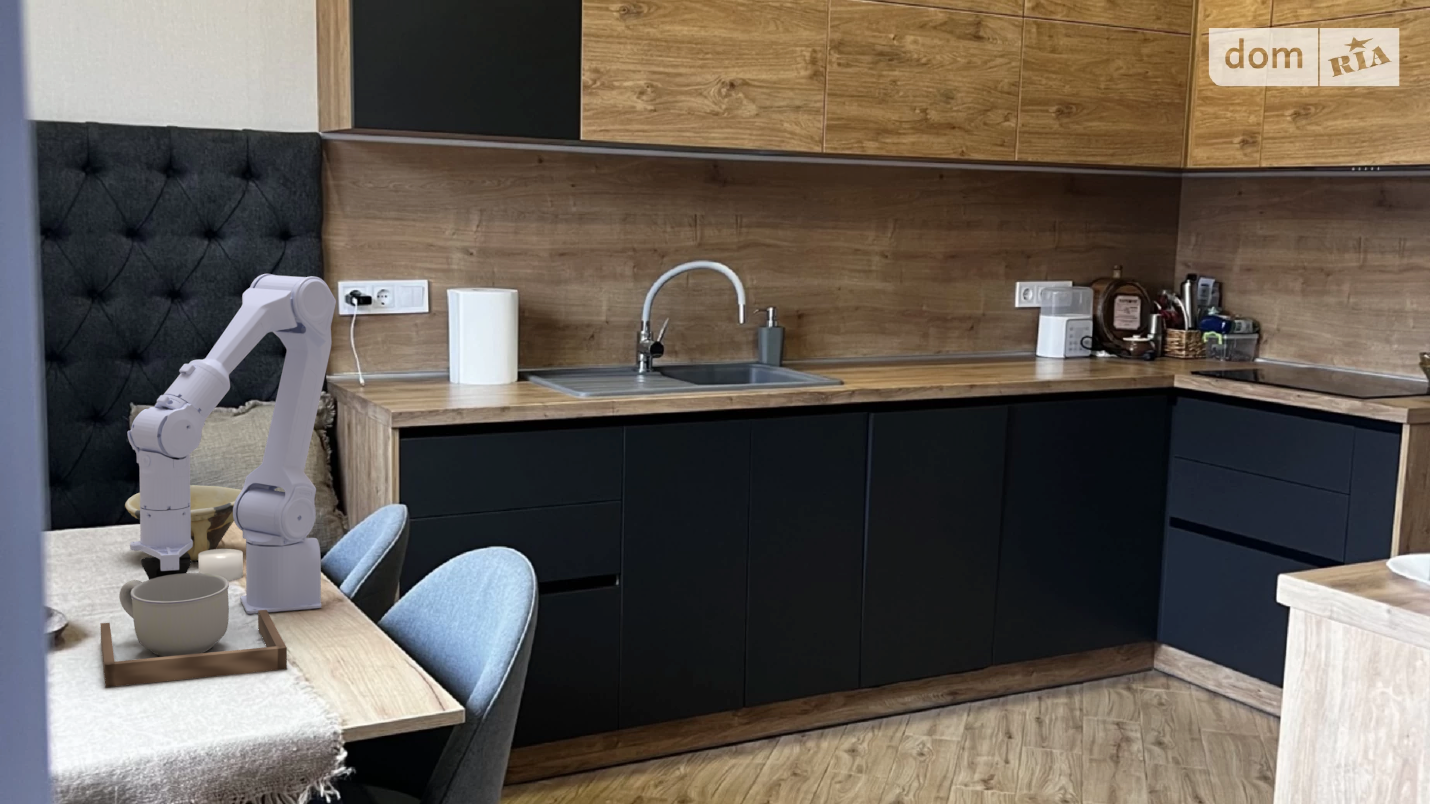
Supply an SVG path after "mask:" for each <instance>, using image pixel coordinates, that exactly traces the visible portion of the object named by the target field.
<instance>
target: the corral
mask: <svg viewBox="0 0 1430 804" xmlns="http://www.w3.org/2000/svg"><path fill="white" fill-rule="evenodd" d="M257 620H258V621H257V624H258V625H257V630H258V629H259V630H258V633H259V634H260V636H261V635H262V637H263V639H262V640H264V641H263V643H264V642H265V643H264V645H265V644H266V645H265V647H255V648H244V649H235V650H221V651H212V652H203V653H200V654H189V655H178V656H168V657H164V656H159V657H148V658H139V659H138V658H136V659H129V660H117V661H116V660H115V655H114V649H113V648H114V646H113V638H112V631H111V630H112V629H111V625H110V622H101V623H100V648H101V661H102V668H103V669H102V670H103V679H104V687H105V688H113V687H114V688H115V687H122V686H123V687H124V686H130V685H131V686H133V685H134V686H135V685H142V684H143V685H144V684H151V683H163V682H173V681H182V680H183V681H184V680H193V679H202V678H203V679H204V678H211V677H213V678H214V677H221V676H231V675H232V676H233V675H242V674H252V673H262V672H270V671H281V670H283V671H284V670H287V669H288V662H287V660H288V656H287V655H288V652H287V651H288V647H287V646H286V644H285V641H284V639H283V638H282V636H281V634H280V633H279V631H278V630H279V629H277V627H276V625H275V623H274V621H273V619H272V617H271V615H270V614H269V612H267V610H258V613H257ZM262 637H261V638H262Z"/></svg>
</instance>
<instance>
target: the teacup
mask: <svg viewBox="0 0 1430 804" xmlns="http://www.w3.org/2000/svg"><path fill="white" fill-rule="evenodd" d="M229 587H230V581H227V580H226V579H225V578H223V577H221V576H218V575H214V574H207V573H206V574H204V573H199V572H187V573H182V574H173V575H166V576H161V577H157V578H154V579H150V580H149V579H148V580H145V581H141V580H136V579H134V580H133V579H132V580H129V581H127V582H125V583H123V585H122V586H121V587H120V590H119V598H118V599H119V602H120V604H121V607H122V608H123V610H124V611H125V612H126V613H127V615H129V617H131V619H133V625H134V632H135V636H136V638H137V641H138V642H139V643H140V644H141V646H143V647H145V648H146V649H148V650H149V651H151V652H152V653H153V654H155V655H156V656H159V657H168V656H178V655H189V654H200V653H206V652H207V651H209V650H210V649H211V648H213V647H214V646H215V645H216V643H218V642H219V641H220V640H221V639H222V638H223V637H224V636H225V634H226V633H227V631H228V626H229V622H230V621H229V614H230V613H229V611H230V610H229V609H230V606H229V602H230V601H229Z"/></svg>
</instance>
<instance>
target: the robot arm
mask: <svg viewBox="0 0 1430 804" xmlns="http://www.w3.org/2000/svg"><path fill="white" fill-rule="evenodd" d="M241 300H242V301H241V302H242V304H241V307H240V308H239V309H238V311H237V312H236V314H235V315H234V317H233V318H232V320H231V321H230V322H229V324H228V325H227V326H226V328H225V330H224V331H223V333H222V334H221V335H220V337H219V338H218V339H217V341H216V342H215V343H214V345H213V347H212V348H211V350H210V351H209V353H208V354H207V355H206V357H205V358H203V359H194V360H191V361H190V362H189V363H184V364H183V365H182V366H181V367H180V368H179V370H178V372H179V375H178V376H177V378H176V379H175V380H174V381H173V382H172V384H170V386H169V387H168V388H167V390H166V391H165V392H164V393H163V394H161V395H159V396H158V398H157V399H156V403H155V404H154V406H151V407H148V408H145V409H143V410H141V411H140V412H139V413H138V414H137V415H136V416H135V418H134V419H133V421H132V424H131V427H130V430H128V431H127V439H128V441H129V445H131V447H132V449H133V450H134V451H135V453H136V455H135V456H136V463H137V464H138V466H139V493H140V520H139V523H140V524H139V526H140V527H139V528H140V531H139V532H140V533H139V534H140V537H139V538H140V540H139V541H131V542H130V543H129V549H130V551H140V552H142V553H145V554H147V555H149V556H148V557H143V558H140V562H141V567H142V569H143V570H144V572H145V574H146V575H147V578H148V580H150V579H154V578H157V577H161V576H166V575H173V574H182V573H188V572H189V570H190V567H191V565H192V561H191V557H190V555H189V554H187V553H186V552H187V551H188V550H189V549H191V548H192V546H193V540H192V539H191V505H190V485H191V454H192V453H193V452H194V451H195V450H196V449H197V448H199V445H200V444H201V440H202V435H203V433H202V432H203V428H204V426H205V425H206V421H207V419H208V417H209V416H210V415H211V413H212V412H213V411H214V410H215V408H216V407H217V406H218V404H219V403H220V402H221V401H222V399H223V398H224V397H225V395H226V394H227V393H228V392H229V391H230V388H231V382H230V374H231V373H232V372H233V370H235V369H236V368H237V366H239V365H240V363H241V362H242V361H243V360H244V359H245V358H246V356H247V355H248V354H249V353H251V351H252V350H253V349H254V348H255V347H256V346H257V344H259V343H260V341H261V340H262V339H263V338H264V337H265V336H266V335H267V334H268V333H273V334H274V335H276V336H277V337H278V338H279V340H280V342H281V343H282V344H283V346H284V347H285V349H286V353H285V356H284V363H283V367H282V371H281V372H282V373H281V376H280V380H279V384H278V389H277V393H276V394H277V395H276V398H275V402H274V403H275V404H274V407H273V411H272V417H271V421H270V426H269V430H268V434H267V437H266V443H265V447H264V448H265V449H264V453H263V456H262V462H261V463H260V465H258V466H257V467H256V468H255V469H253V470H252V471H251V472H250V473H248V474H247V475H246V477H245V480H244V483H243V487H242V489H241V490H242V491H241V492H240V494H239V495H238V497H237V498H236V500H235V503H234V507H233V518H234V523H235V525H236V527H237V528H238V529H239V530H240V531H241V532H242V539H244V540H245V550H246V551H245V557H246V558H245V569H246V570H245V574H246V575H245V576H246V577H245V578H246V579H245V582H246V583H245V586H246V587H245V589H246V590H245V591H246V593H245V594H246V595H241V596H240V597H239V600H240V601H241V604H242V606H243V608H244V610H245V612H246V614H250V615H253V614H258V610H267V612H268V613H277V612H287V611H299V610H310V609H320V608H322V605H323V604H322V602H321V601H322V598H321V597H322V595H321V594H322V593H321V592H322V591H321V590H322V588H321V587H322V583H321V582H322V579H321V578H322V576H321V575H322V571H321V570H322V569H321V568H322V566H321V565H322V564H321V563H322V561H321V548H320V547H321V546H320V543H319V540H318V538H316V537H307V536H308V535H309V534H310V533H311V531H312V530H313V527H314V525H315V522H316V516H317V514H316V512H317V511H316V503H315V497H316V491H317V488H316V486H315V484H314V483H313V482H312V481H311V479H310V477H308V475H307V474H306V472H305V468H306V464H307V459H308V455H309V450H310V445H311V440H312V436H313V431H314V427H315V423H316V418H317V413H318V408H319V404H320V400H321V395H322V391H323V386H324V381H325V376H326V371H327V368H328V364H329V358H330V354H331V351H332V350H331V349H332V330H331V329H332V322H333V317H334V314H335V308H336V304H337V300H336V298H335V297H334V294H333V293H332V291H331V289H330V287H329V286H328V284H327V283H326V281H325V280H323V279H322V278H321V277H318V276H312V275H311V276H307V277H306V276H294V275H293V276H290V275H276V274H271V273H264V274H260V275H258V276H257V277H256V278H254V279H253V281H252V283H251V284H250V287H249V288H247V289H246V290H245V291H244V292H243V293H242V297H241ZM278 488H281V489H283V491H280V490H276V489H278Z"/></svg>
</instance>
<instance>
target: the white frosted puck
mask: <svg viewBox="0 0 1430 804" xmlns="http://www.w3.org/2000/svg"><path fill="white" fill-rule="evenodd" d="M243 556H244V552H243V551H242V550H241V549H236V548H235V549H233V548H217V549H214V550H207V551H203V552H201V553H199V554H198V560H197V561H198V573H204V574H206V573H207V574H214V575H218V576H221V577H223V578H225V579H226V580H227V581H228V582H231V581H235V580H236V581H237V580H239V579H242V578H243V576H244V563H243V562H244V557H243Z"/></svg>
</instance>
